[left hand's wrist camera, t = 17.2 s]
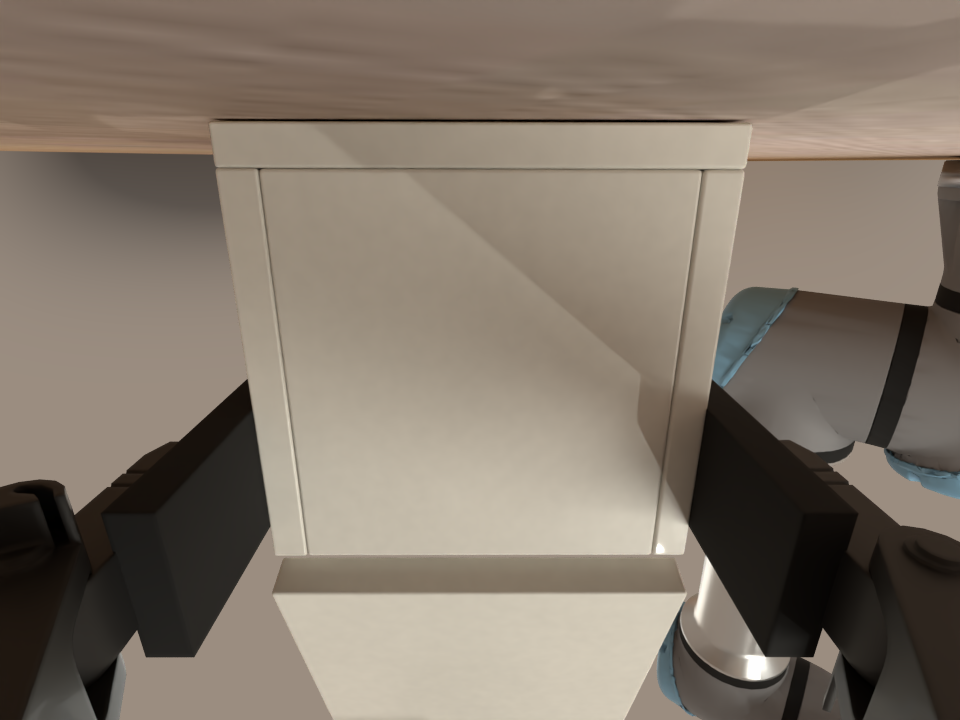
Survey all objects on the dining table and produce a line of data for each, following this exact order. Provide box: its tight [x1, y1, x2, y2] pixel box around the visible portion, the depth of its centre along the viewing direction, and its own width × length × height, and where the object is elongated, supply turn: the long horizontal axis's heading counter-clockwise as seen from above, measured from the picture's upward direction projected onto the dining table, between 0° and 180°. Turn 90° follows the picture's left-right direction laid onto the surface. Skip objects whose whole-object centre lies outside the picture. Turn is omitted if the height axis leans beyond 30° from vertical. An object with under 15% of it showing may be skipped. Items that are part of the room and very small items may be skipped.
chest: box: [209, 121, 752, 555], centre depth 18 cm, size 17×9×9 cm, turn 0°
